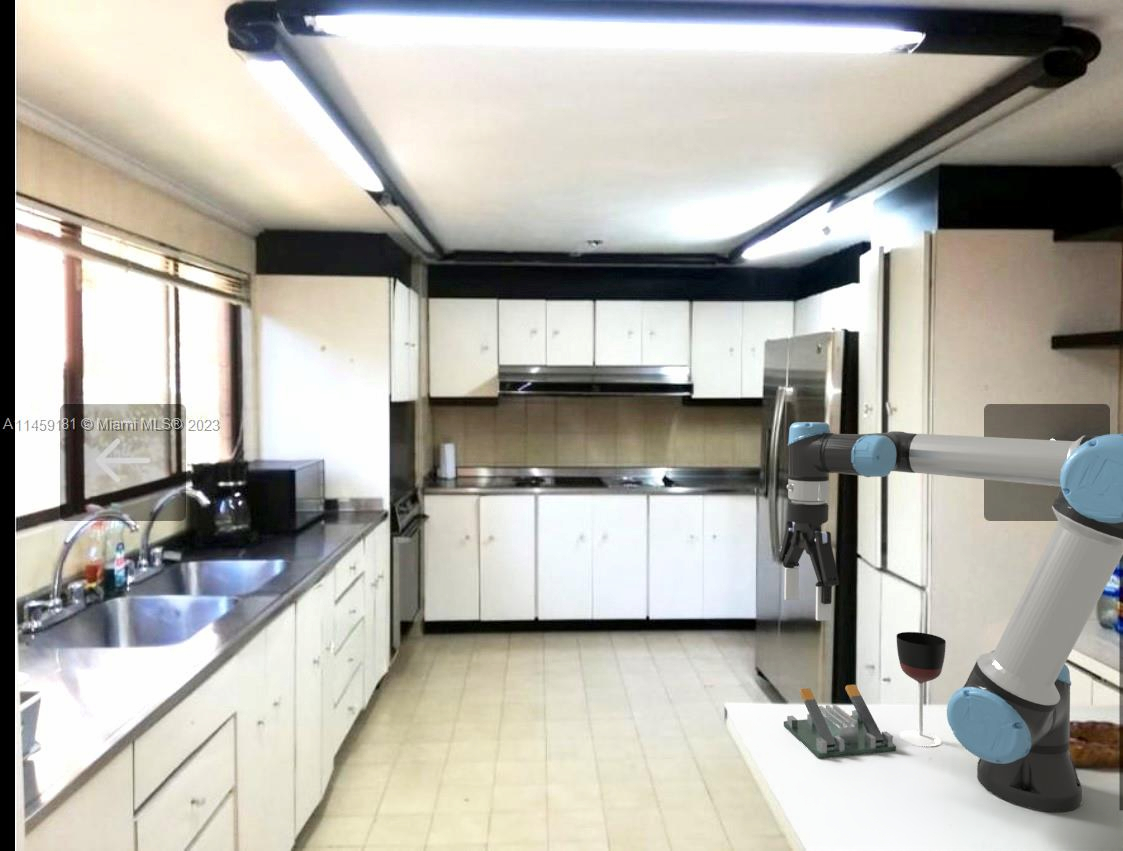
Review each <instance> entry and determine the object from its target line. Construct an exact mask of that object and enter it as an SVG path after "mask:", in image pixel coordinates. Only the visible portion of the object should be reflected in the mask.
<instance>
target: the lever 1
mask: <svg viewBox="0 0 1123 851" xmlns="http://www.w3.org/2000/svg"><path fill="white" fill-rule="evenodd" d="M799 695H800V696H801V698H802V701H803V704H804V705H805V707H806V709H807V712H808V714H810V716H811V719H812V721H813V723H814V725H815V727H816V730H817V732H818V734H819V736H820V737H821V738H823V739H824V740H825V741H826V742H827V748H828V747H835V745H836V743H835V741H834V739H833V736H832V734H831V732H830V730H829V728H828V726H827V724H826V721H825V719H824V717H823V715H822V713H821V711H820V708H819V706H820V705H819V704H818V703H817V700H816V698H815V696H814V694H813V692H812V689H811V687H808V688H806V687H805V688H800V690H799Z"/></svg>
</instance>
